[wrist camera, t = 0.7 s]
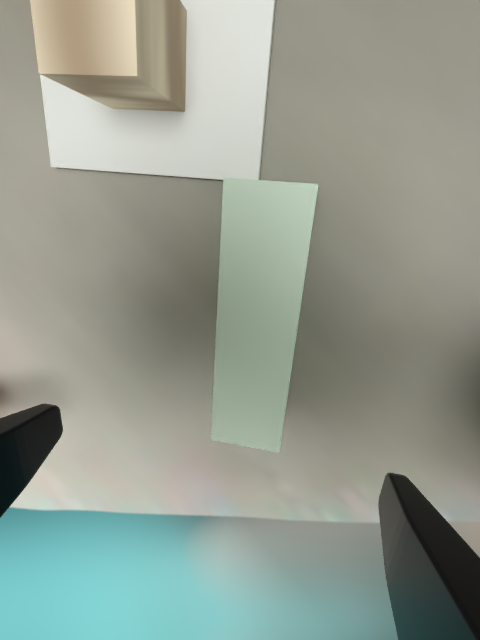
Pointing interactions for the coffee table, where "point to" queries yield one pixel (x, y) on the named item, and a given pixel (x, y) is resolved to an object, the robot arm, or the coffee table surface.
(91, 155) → the mat
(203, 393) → the coffee table surface
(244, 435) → the lintel
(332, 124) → the coffee table surface
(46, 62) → the pillar
